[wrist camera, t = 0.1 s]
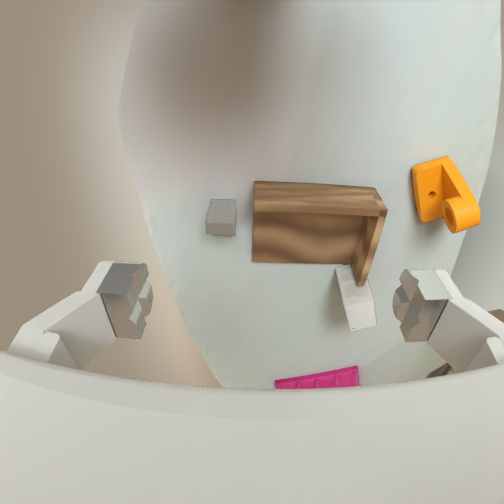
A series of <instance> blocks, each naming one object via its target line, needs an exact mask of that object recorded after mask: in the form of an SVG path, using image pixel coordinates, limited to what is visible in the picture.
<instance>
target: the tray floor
mask: <svg viewBox="0 0 504 504" xmlns="http://www.w3.org/2000/svg"><path fill="white" fill-rule="evenodd" d="M254 184H270V185H296V186H316V187H333V188H348V189H361V190H374V191H376V189H375V188H371V187H359V186H345V185H330V184H313V183H293V182H266V181H254ZM363 217H364V216H363V215H345V214H325V213H301V212H273V211H254V220H253V262H282V263H327V264H351V263H352V259H353V256H354V252H355V248H356V244H357V241H358V237H359V233H360V229H361V225H362V221H363Z"/></svg>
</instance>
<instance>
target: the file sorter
mask: <svg viewBox="0 0 504 504" xmlns="http://www.w3.org/2000/svg"><path fill="white" fill-rule="evenodd" d="M275 386H276V387H277V389H316V388H338V387H353V386H359V375H358V366H353V367H349V368H344V369H339V370H334V371H329V372H323V373H318V374H312V375H307V376H301V377H295V378H288V379H282V380H275Z"/></svg>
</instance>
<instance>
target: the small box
mask: <svg viewBox="0 0 504 504" xmlns="http://www.w3.org/2000/svg"><path fill="white" fill-rule="evenodd" d="M335 270H336V275H337V279H338V283H339V287H340V292H341V296H342V301H343V306H344V309H345V313H346V318H347V322H348V327H349V331H350V332H351V331H355V330H359V329H363V328H367V327H371V326H374V325H377V321H376V313H375V304H374V298H373V295H372V292H371V289H370V286H369V283H368V280H367V279H366V282H365V285H364V286H358V285H357V282H356V278H355V275H354V272H353V268H352V265H351V264H348V265H344V266H340V267H336V268H335Z"/></svg>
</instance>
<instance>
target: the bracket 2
mask: <svg viewBox="0 0 504 504" xmlns="http://www.w3.org/2000/svg"><path fill="white" fill-rule="evenodd" d="M412 175H413V178H412V184H413V191H414V198H415V205H416V206H417V212H418V215H419V217H420V219H421V220H422V221H423V222H429V221H432V220H435V219H438V218H441V217H444V220H445V222H446V225H447V227H448V229H449V230H450V232H451V233H453V234H454V233H457V232H460V231H463V230H466V229H468V228H471V227H474V226H477V225H479V223H480V220H481V214H480V209H479V205H478V203H477V201H476V199H475V197H474V195H473V193H472V192H471V190H470V188H469V187H468V185H467V183H466V182H465V180H464V178H463V177H462V175H461V174H460V172H459V170H458V169H457V167H456V166H455V164H454V163H453V161H452V160H451V159H450V158H449V157H448V156H446V157H443V158H439V159H436V160H432V161H429V162H425V163H422V164H419V165H416V166H414V167H413V169H412Z"/></svg>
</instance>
